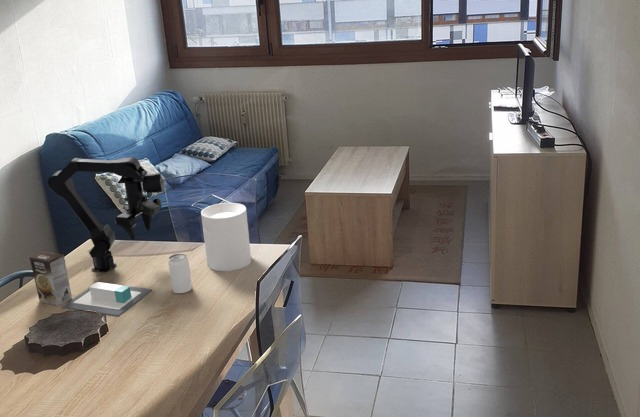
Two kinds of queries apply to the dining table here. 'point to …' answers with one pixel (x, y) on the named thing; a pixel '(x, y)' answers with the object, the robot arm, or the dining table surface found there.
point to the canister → (226, 236)
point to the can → (180, 273)
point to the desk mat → (106, 302)
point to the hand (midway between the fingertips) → (141, 234)
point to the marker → (110, 292)
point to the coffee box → (51, 277)
